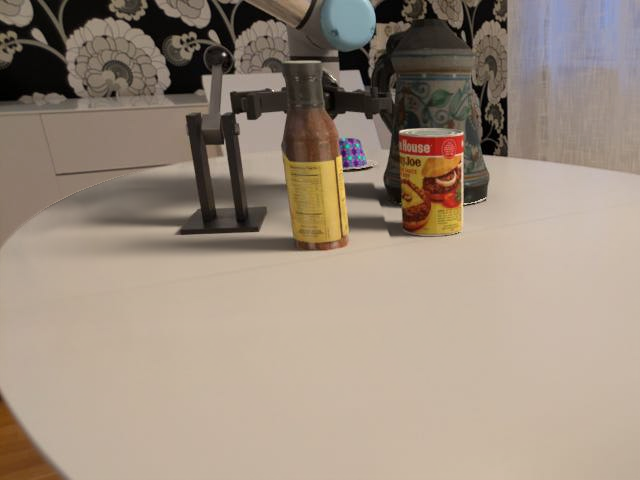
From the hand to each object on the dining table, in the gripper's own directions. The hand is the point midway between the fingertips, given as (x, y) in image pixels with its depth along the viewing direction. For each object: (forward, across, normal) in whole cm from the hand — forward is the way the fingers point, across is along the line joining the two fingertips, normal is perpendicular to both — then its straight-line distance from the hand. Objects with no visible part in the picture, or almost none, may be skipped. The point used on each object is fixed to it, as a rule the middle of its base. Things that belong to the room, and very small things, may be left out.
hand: (311, 107), depth 80 cm
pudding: (-52, -4, -15) cm, 54 cm away
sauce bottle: (+10, 0, -15) cm, 18 cm away
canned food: (+2, -14, -15) cm, 21 cm away
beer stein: (-19, -16, -15) cm, 29 cm away
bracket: (-3, +12, -15) cm, 19 cm away
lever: (-10, +12, 0) cm, 16 cm away
